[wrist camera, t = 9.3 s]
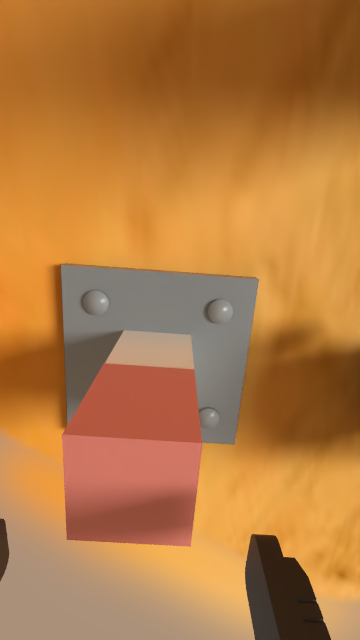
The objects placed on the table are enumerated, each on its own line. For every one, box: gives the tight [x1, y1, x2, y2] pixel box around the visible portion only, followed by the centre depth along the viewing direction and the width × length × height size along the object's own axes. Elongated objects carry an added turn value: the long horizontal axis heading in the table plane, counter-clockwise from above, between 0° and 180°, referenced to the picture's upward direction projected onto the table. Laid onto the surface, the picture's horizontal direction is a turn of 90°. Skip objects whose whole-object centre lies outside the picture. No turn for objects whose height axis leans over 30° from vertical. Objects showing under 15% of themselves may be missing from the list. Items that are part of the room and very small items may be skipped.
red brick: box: [62, 363, 202, 546], centre depth 14 cm, size 5×5×6 cm
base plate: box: [61, 264, 259, 444], centre depth 23 cm, size 14×14×1 cm
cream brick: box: [105, 330, 194, 369], centre depth 20 cm, size 5×5×6 cm
